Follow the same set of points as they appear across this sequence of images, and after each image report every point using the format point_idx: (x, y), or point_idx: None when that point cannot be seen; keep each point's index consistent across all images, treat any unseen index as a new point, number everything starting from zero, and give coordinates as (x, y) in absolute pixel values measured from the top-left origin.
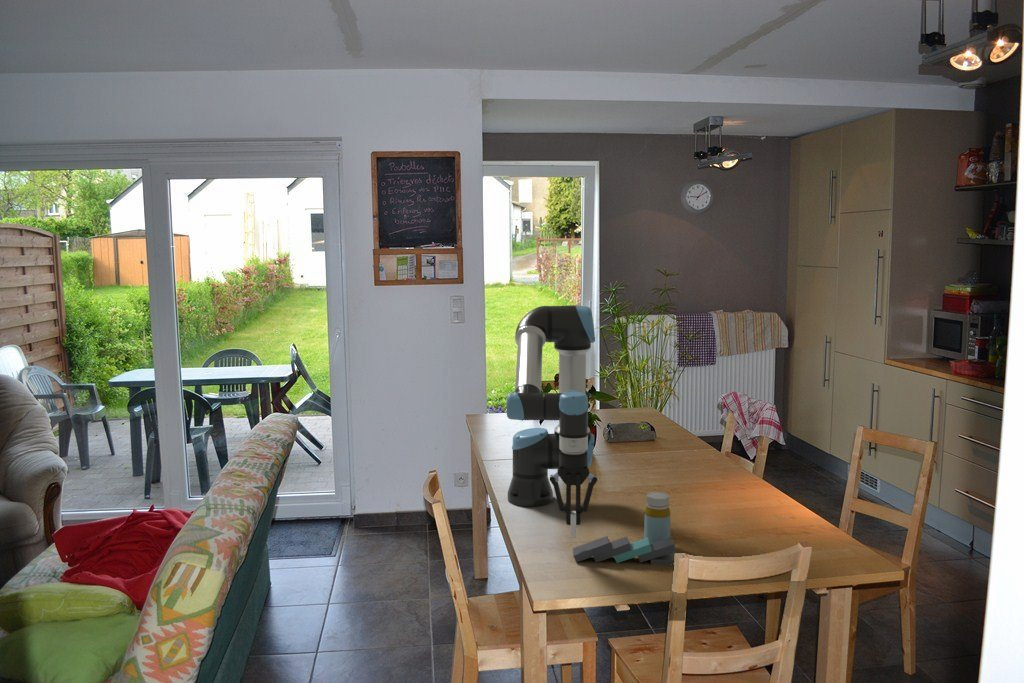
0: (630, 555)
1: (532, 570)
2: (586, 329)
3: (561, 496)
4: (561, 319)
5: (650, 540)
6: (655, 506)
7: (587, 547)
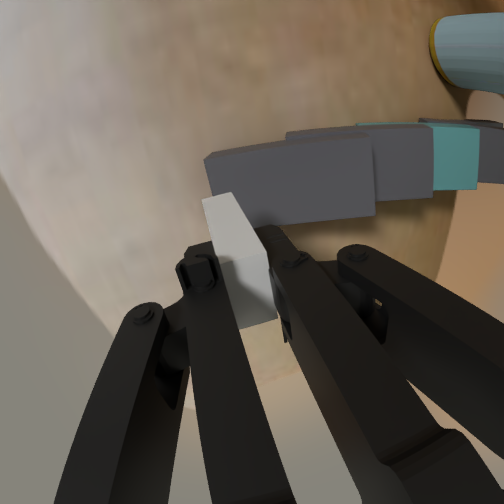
0: None
1: (110, 313)
2: None
3: (142, 411)
4: None
5: (462, 80)
6: None
7: (278, 194)
